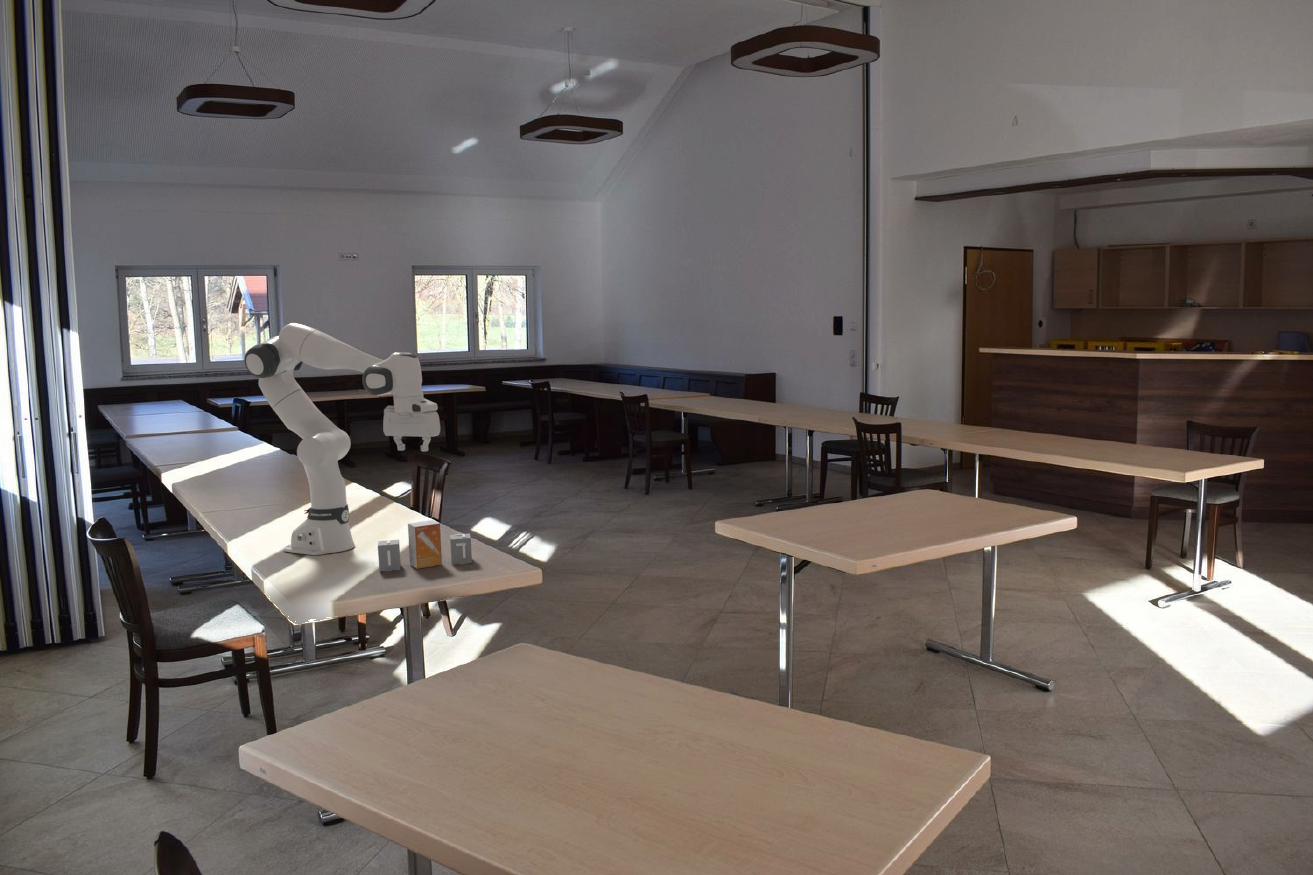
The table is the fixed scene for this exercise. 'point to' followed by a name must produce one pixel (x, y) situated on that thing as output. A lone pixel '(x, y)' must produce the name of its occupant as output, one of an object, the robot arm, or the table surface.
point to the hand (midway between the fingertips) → (413, 450)
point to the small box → (424, 544)
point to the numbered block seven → (460, 548)
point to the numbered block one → (389, 555)
